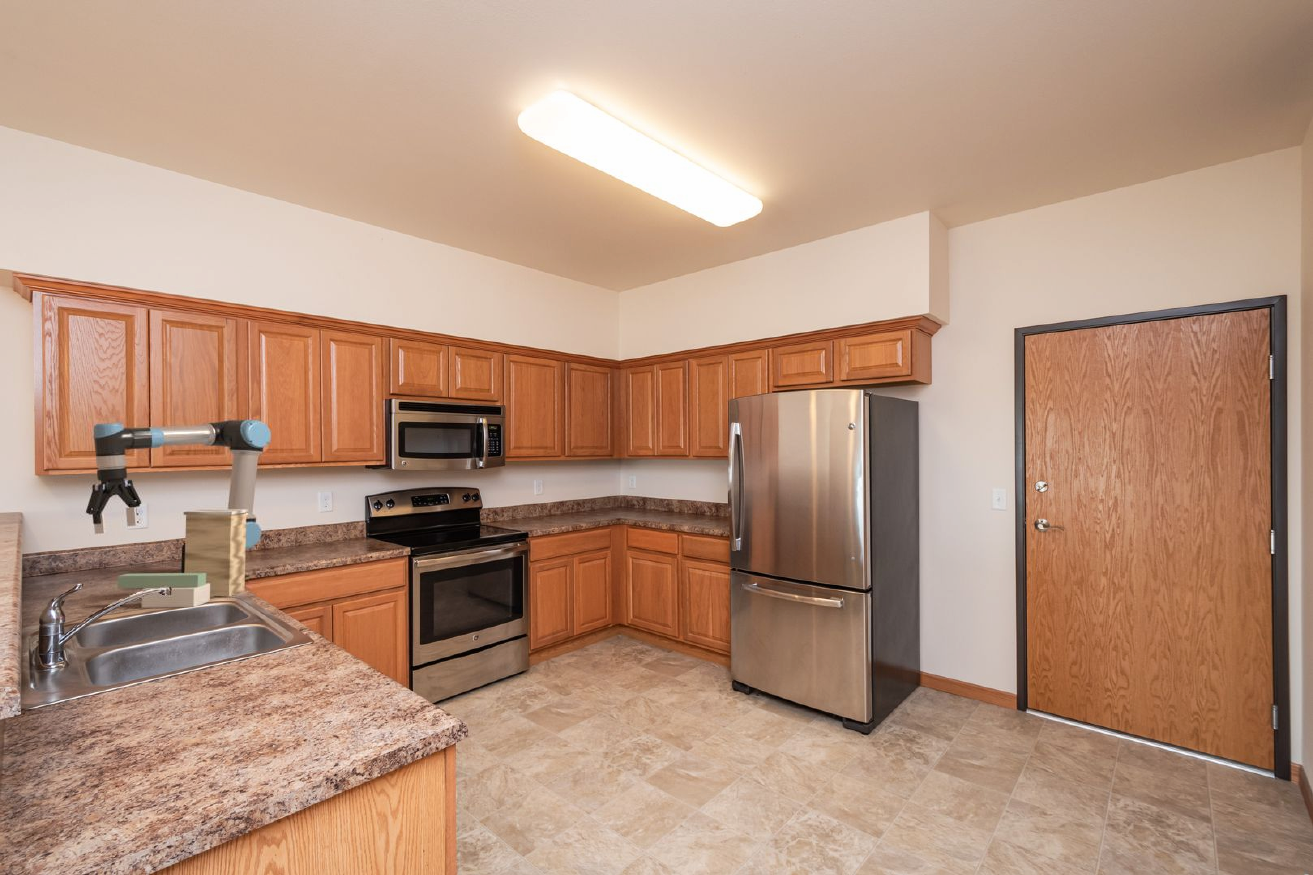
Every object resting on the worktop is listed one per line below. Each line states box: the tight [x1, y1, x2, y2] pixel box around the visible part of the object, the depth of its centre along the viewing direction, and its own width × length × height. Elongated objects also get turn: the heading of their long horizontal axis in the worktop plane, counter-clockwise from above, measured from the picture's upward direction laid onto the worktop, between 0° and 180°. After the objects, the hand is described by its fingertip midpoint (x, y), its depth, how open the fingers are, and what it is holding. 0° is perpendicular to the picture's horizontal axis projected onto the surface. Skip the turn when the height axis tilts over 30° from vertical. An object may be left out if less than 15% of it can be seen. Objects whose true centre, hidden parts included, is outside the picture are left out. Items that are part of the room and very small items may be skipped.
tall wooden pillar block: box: [183, 508, 249, 598], centre depth 213 cm, size 10×16×30 cm, turn 95°
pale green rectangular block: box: [116, 572, 206, 589], centre depth 198 cm, size 4×25×4 cm, turn 95°
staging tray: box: [141, 583, 211, 609], centre depth 199 cm, size 8×16×6 cm, turn 95°
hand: (116, 529), depth 204 cm, fingers open, 13 cm apart
